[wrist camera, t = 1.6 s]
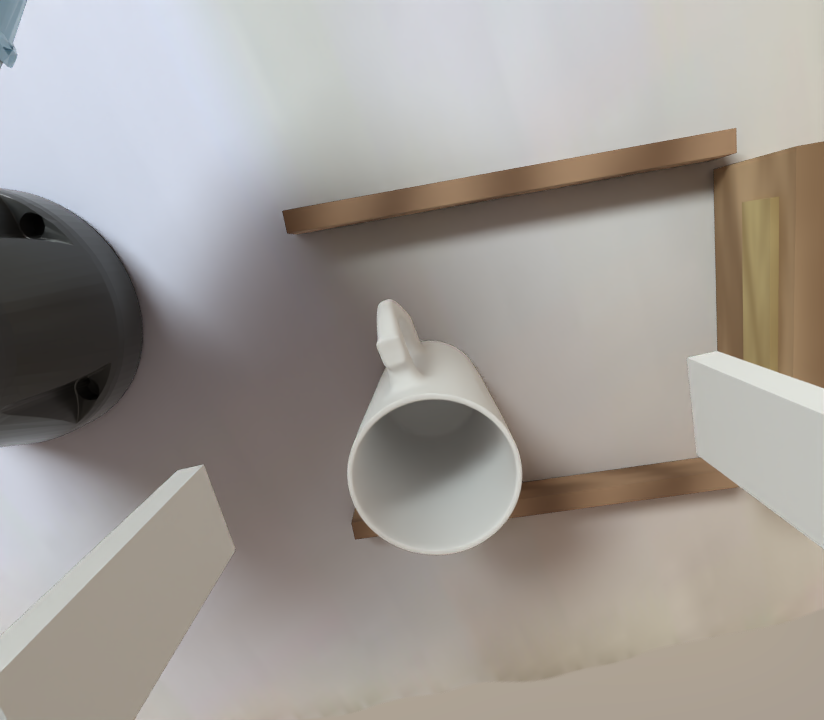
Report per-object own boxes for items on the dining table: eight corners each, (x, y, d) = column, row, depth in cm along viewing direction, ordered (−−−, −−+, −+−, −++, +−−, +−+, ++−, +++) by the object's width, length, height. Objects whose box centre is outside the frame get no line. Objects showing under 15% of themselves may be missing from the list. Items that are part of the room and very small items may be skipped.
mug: (496, 420, 30) (543, 528, 18) (398, 451, 31) (382, 575, 19) (447, 269, 28) (465, 282, 16) (342, 306, 29) (286, 344, 17)
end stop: (713, 448, 30) (783, 496, 24) (706, 170, 26) (787, 148, 20) (767, 440, 30) (851, 487, 24) (768, 159, 26) (868, 133, 20)
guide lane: (359, 521, 32) (355, 539, 30) (292, 213, 27) (282, 210, 25) (720, 471, 30) (740, 486, 28) (712, 137, 26) (736, 127, 24)
